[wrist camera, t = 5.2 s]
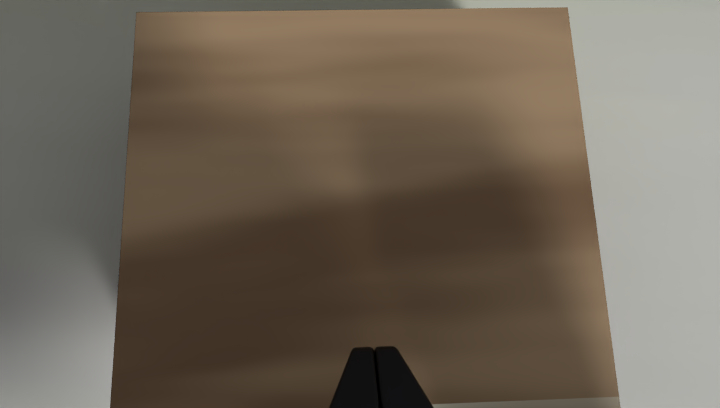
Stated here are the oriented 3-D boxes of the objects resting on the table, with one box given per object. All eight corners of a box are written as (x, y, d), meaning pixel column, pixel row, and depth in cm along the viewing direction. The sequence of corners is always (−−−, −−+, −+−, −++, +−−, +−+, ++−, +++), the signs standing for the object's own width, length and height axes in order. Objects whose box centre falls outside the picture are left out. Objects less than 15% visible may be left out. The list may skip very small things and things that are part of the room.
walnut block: (622, 423, 12) (567, 7, 14) (107, 445, 11) (136, 12, 14) (552, 394, 16) (518, 73, 18) (168, 410, 15) (182, 78, 17)
